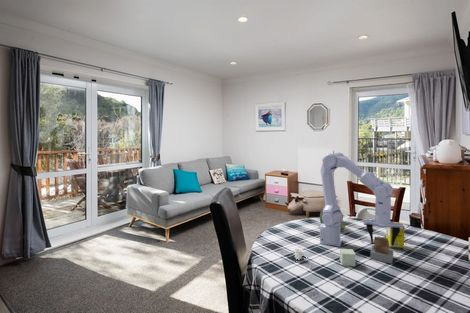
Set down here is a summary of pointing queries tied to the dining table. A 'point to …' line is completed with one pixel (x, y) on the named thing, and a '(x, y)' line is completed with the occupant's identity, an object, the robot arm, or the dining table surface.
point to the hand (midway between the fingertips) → (382, 243)
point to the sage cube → (347, 257)
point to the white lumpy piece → (298, 254)
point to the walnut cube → (381, 245)
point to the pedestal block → (382, 256)
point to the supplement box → (399, 239)
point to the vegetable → (323, 223)
